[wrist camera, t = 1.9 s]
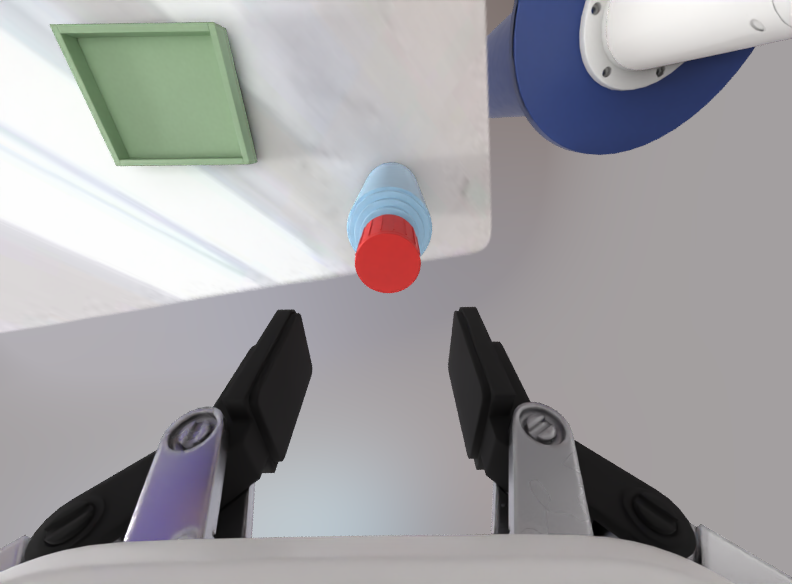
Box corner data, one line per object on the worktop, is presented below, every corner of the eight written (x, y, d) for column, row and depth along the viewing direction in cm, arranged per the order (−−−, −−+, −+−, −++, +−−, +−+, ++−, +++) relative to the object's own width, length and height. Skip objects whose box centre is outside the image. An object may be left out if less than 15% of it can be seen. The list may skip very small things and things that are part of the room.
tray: (226, 28, 26) (214, 21, 24) (257, 162, 32) (249, 164, 30) (71, 30, 26) (48, 24, 24) (131, 163, 32) (116, 166, 30)
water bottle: (419, 162, 32) (446, 205, 15) (417, 218, 35) (438, 306, 18) (362, 162, 32) (326, 207, 15) (366, 219, 35) (339, 307, 18)
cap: (417, 213, 19) (422, 232, 15) (416, 266, 20) (420, 293, 17) (359, 213, 19) (351, 233, 15) (363, 266, 20) (357, 294, 17)
